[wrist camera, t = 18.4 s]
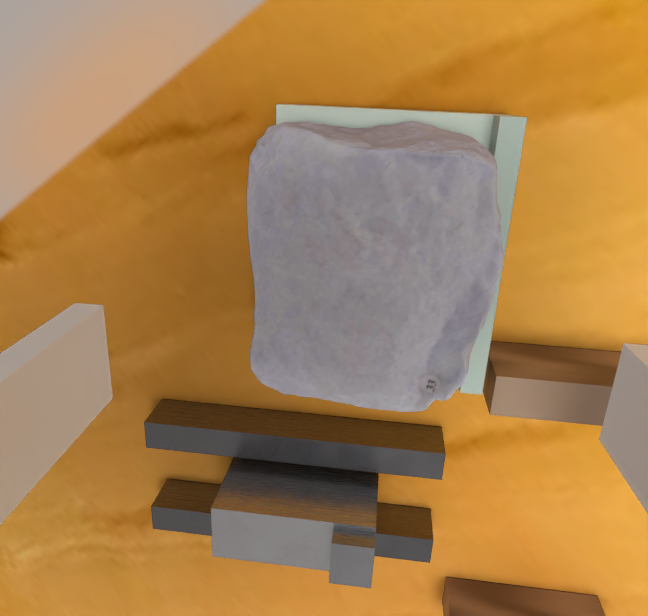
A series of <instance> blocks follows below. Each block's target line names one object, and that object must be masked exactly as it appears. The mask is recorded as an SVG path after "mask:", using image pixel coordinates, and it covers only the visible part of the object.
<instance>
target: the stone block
mask: <svg viewBox="0 0 648 616" xmlns="http://www.w3.org/2000/svg"><path fill="white" fill-rule="evenodd" d="M497 177H498V170H497V162H496V160H495V158H494V155H493V154H491V153H490V151H489V150H488V149H487V148H486V147H484V146H483V145H482V144H481V143H480V142H478V141H477V140H475V139H474V138H473V137H469V136H466V135H464V134H461V133H454V132H449V131H446V130H443V129H439V128H436V127H434V126H432V125H428V124H423V123H419V122H416V121H409V122H403V123H399V124H394V125H378V126H375V127H371V128H346V127H341V126H329V125H322V124H312V123H310V122H283V123H281V124H278V125H272V126H270V127H268V129H267V130H266V132H265V133H264V135H263V137H261V138H259V139H258V141H257V143H256V147H255V148H254V149H253V151H252V153H251V155H250V162H249V178H248V186H247V217H248V239H249V250H250V260H251V265H252V271H253V277H254V287H255V309H254V321H255V326H254V332H253V338H252V344H251V349H250V361H251V370H252V372H253V373H254V374H255V376H256V377H257V378H258V380H259V381H260V382H261V383H262V384H264V385H266V386H268V387H270V388H272V389H274V390H277V391H279V392H280V393H282V394H286V395H290V394H293V395H297V396H301V397H314V398H318V399H324V400H329V401H334V402H338V403H345V404H350V405H354V406H358V407H362V408H370V409H379V410H392V411H399V412H417V411H424V410H426V409H427V408H428V407H429V406H430V404H431V403H432V402H433V401H435V400H442V401H446V400H447V399H449V398H450V397H451V396H452V395H453V393H454V392H455V391H456V390H457V389H459V388H460V387H461V386H462V385H463V384H464V381H465V379H466V376H467V373H468V369H469V357H470V354H471V351H472V349H473V346H474V344H475V341H476V339H477V338H478V335H479V333H480V331H481V330H482V328H483V326H484V324H485V322H486V317H487V315H488V312H489V309H490V307H491V304H492V301H493V297H494V294H495V291H496V284H497V281H498V279H499V276H500V272H501V268H502V264H503V258H504V251H503V245H502V240H501V227H500V221H501V213H500V210H499V207H498V203H497V184H496V183H497Z"/></svg>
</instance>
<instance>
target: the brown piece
mask: <svg viewBox="0 0 648 616" xmlns="http://www.w3.org/2000/svg"><path fill="white" fill-rule="evenodd" d="M620 355H621V352H614V351H603V350H591V349H579V348H568V347H556V346H544V345H533V344H521V343H509V342H498V341H491V343H490V349H489V355H488V361H487V367H486V373H485V379H484V386H483V393H484V397H485V400H486V403H487V407H488V410H489V413H490V415H498V416H509V417H519V418H529V419H539V420H549V421H560V422H570V423H580V424H590V425H601V426H603V423H604V419H605V415H606V411H607V407H608V403H609V399H610V395H611V391H612V387H613V383H614V379H615V375H616V371H617V367H618V363H619V359H620ZM442 604H443V615H444V616H605V613H604V611H603V608H602V606H601V603H600V601H599V598H598V596H593V595H585V594H578V593H570V592H562V591H554V590H546V589H538V588H530V587H522V586H514V585H506V584H498V583H490V582H482V581H474V580H466V579H458V578H450V577H446V581H445V587H444V593H443V600H442Z"/></svg>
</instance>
